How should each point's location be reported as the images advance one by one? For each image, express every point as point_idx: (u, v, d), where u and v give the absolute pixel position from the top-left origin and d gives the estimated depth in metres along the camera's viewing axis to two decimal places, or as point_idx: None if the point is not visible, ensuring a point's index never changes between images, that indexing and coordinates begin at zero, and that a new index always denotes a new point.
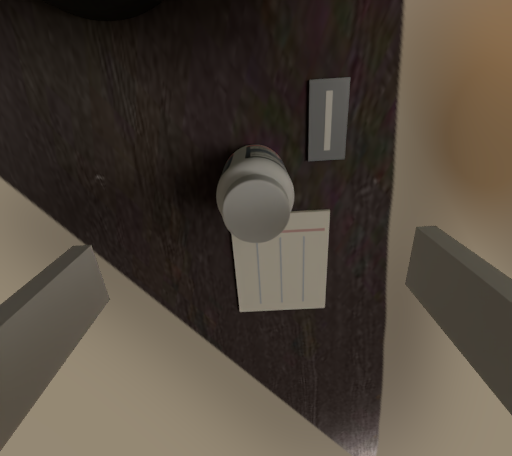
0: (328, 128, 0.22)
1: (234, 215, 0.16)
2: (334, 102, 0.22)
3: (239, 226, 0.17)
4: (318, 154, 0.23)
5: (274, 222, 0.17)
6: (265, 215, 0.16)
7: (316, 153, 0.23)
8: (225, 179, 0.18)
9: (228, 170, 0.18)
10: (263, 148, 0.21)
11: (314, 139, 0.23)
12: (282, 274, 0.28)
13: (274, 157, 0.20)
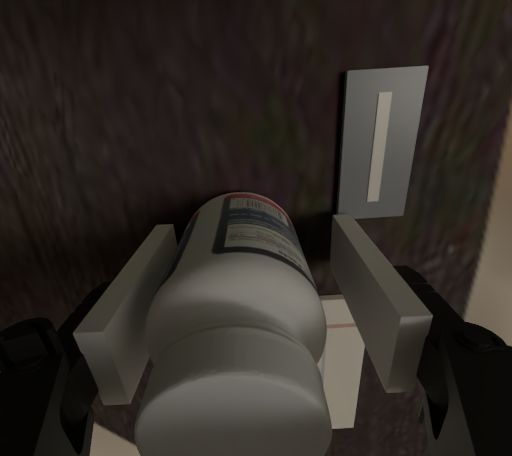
0: (377, 163, 0.12)
1: (173, 449, 0.06)
2: (392, 114, 0.11)
3: None
4: (356, 207, 0.13)
5: None
6: (262, 446, 0.06)
7: (353, 206, 0.13)
8: (161, 312, 0.07)
9: (169, 286, 0.07)
10: (256, 205, 0.11)
11: (351, 182, 0.12)
12: None
13: (279, 234, 0.09)
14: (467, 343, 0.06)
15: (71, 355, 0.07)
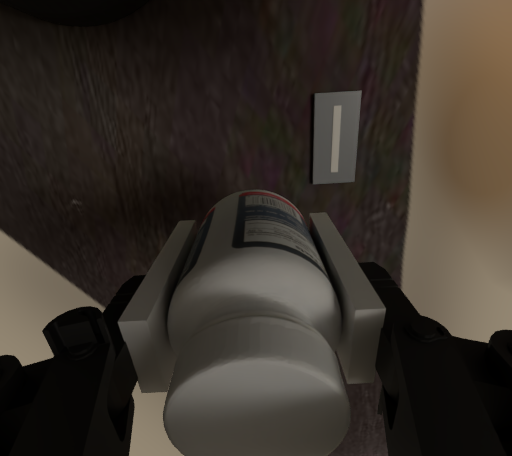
0: (335, 148, 0.20)
1: (199, 431, 0.06)
2: (342, 118, 0.19)
3: (213, 450, 0.06)
4: (324, 176, 0.20)
5: (306, 443, 0.06)
6: (284, 430, 0.06)
7: (322, 175, 0.20)
8: (184, 303, 0.07)
9: (191, 279, 0.08)
10: (271, 202, 0.11)
11: (320, 160, 0.20)
12: None
13: (295, 231, 0.09)
14: (415, 335, 0.06)
15: (115, 343, 0.07)
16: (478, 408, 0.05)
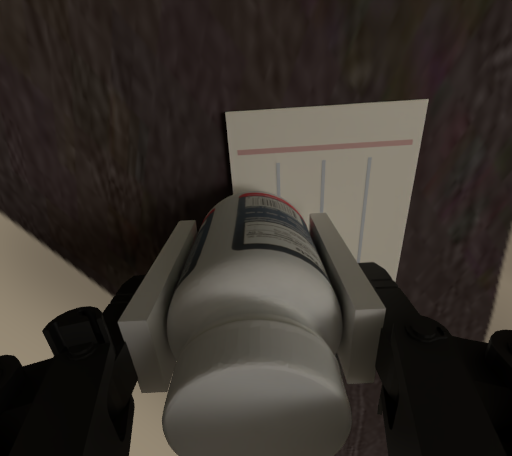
0: None
1: (198, 436, 0.06)
2: None
3: (212, 455, 0.06)
4: None
5: (306, 447, 0.06)
6: (284, 435, 0.06)
7: None
8: (183, 306, 0.07)
9: (191, 281, 0.08)
10: (271, 203, 0.11)
11: None
12: None
13: (295, 232, 0.09)
14: (415, 335, 0.06)
15: (115, 343, 0.07)
16: (478, 408, 0.05)
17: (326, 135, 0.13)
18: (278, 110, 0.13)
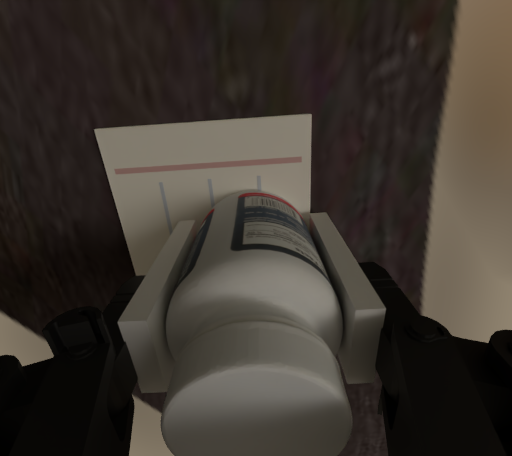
0: None
1: (197, 439, 0.06)
2: None
3: None
4: None
5: (307, 450, 0.06)
6: (284, 437, 0.06)
7: None
8: (182, 307, 0.07)
9: (190, 282, 0.07)
10: (270, 203, 0.11)
11: None
12: None
13: (295, 232, 0.09)
14: (415, 335, 0.06)
15: (115, 343, 0.07)
16: (478, 408, 0.05)
17: (207, 152, 0.12)
18: (151, 126, 0.12)
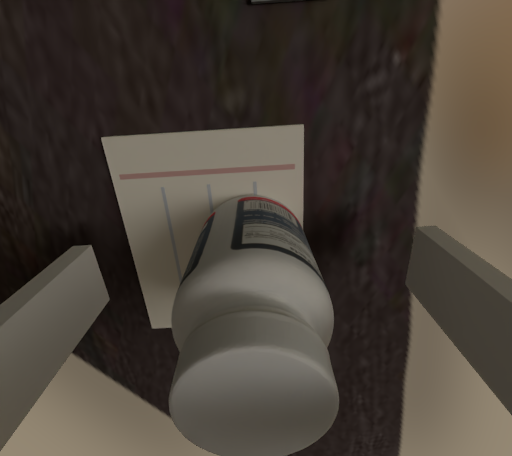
0: None
1: (201, 416, 0.07)
2: None
3: (214, 434, 0.07)
4: None
5: (299, 426, 0.07)
6: (278, 414, 0.07)
7: None
8: (187, 300, 0.08)
9: (194, 278, 0.08)
10: (268, 207, 0.12)
11: None
12: None
13: (290, 233, 0.10)
14: None
15: None
16: None
17: (207, 160, 0.13)
18: (154, 135, 0.13)
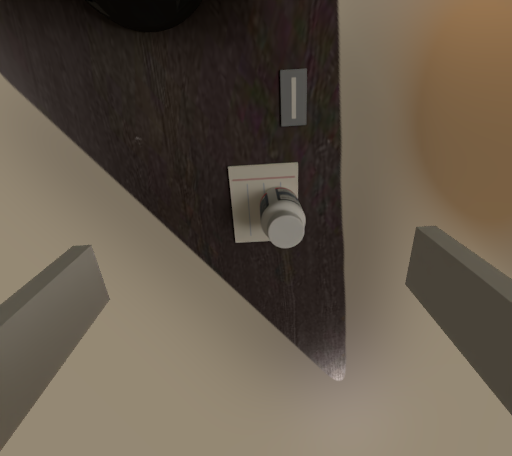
0: (293, 103, 0.33)
1: (274, 233, 0.31)
2: (297, 85, 0.33)
3: (276, 239, 0.31)
4: (288, 121, 0.34)
5: (295, 237, 0.31)
6: (291, 233, 0.31)
7: (286, 120, 0.34)
8: (267, 212, 0.32)
9: (269, 207, 0.32)
10: (285, 190, 0.36)
11: (285, 110, 0.34)
12: None
13: (293, 197, 0.34)
14: None
15: None
16: None
17: (263, 174, 0.37)
18: (246, 166, 0.36)
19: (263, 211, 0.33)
